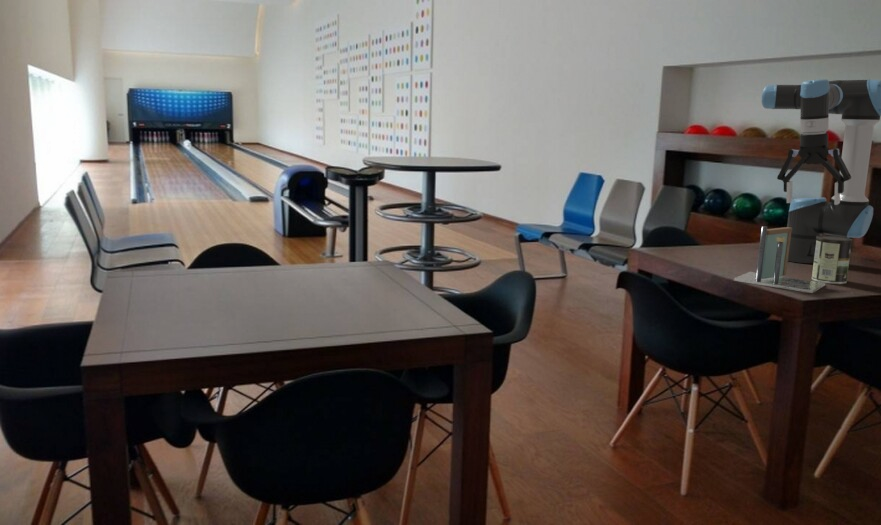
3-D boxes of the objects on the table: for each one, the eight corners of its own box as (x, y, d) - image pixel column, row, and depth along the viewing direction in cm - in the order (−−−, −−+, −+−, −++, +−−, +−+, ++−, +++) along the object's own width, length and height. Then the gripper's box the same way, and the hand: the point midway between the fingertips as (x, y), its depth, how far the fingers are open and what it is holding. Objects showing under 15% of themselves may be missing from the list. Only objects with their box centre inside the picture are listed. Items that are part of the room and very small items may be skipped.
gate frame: (812, 293, 220) (820, 233, 217) (733, 280, 235) (740, 224, 231) (824, 285, 231) (832, 228, 228) (749, 273, 246) (755, 220, 242)
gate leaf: (763, 279, 231) (769, 230, 228) (758, 278, 232) (763, 229, 229) (786, 275, 238) (792, 227, 235) (781, 274, 239) (786, 227, 236)
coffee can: (840, 278, 243) (846, 236, 240) (851, 285, 233) (857, 241, 230) (807, 276, 245) (812, 234, 242) (816, 283, 235) (821, 239, 232)
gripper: (766, 135, 227) (766, 203, 232) (856, 133, 210) (854, 206, 214) (775, 132, 232) (775, 199, 237) (864, 130, 215) (861, 202, 220)
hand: (812, 203), depth 226 cm, fingers open, 13 cm apart
